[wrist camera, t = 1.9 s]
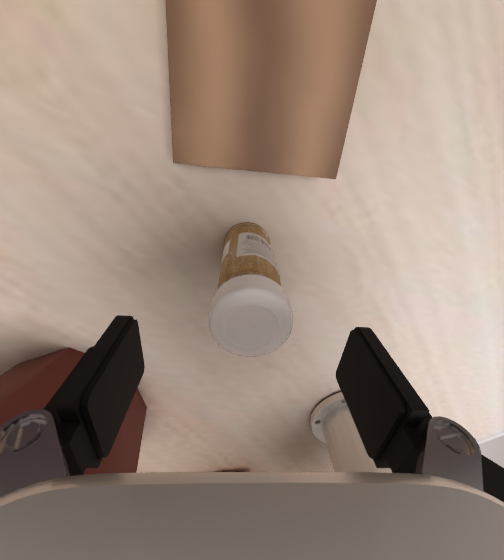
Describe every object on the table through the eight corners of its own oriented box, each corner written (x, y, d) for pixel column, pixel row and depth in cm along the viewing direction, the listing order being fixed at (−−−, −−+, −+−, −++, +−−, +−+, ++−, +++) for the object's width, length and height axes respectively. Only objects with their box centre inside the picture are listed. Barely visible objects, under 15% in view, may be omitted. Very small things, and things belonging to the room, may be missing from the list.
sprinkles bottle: (215, 243, 25) (189, 327, 13) (248, 211, 24) (253, 272, 12) (246, 273, 27) (249, 372, 15) (279, 244, 25) (311, 328, 13)
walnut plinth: (359, -17, 17) (390, -63, 13) (321, 174, 22) (335, 179, 19) (179, -45, 16) (160, -101, 12) (184, 161, 21) (173, 162, 18)
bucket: (10, 437, 38) (-315, 836, 16) (-53, 319, 28) (-1167, 951, 6) (173, 443, 40) (86, 807, 18) (168, 334, 30) (-48, 857, 8)
